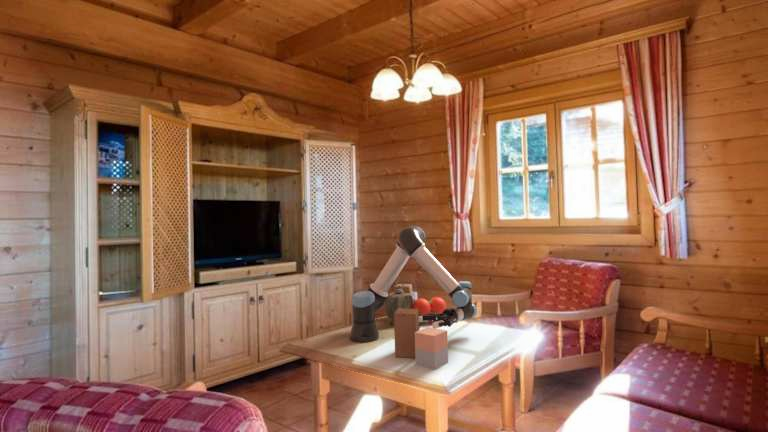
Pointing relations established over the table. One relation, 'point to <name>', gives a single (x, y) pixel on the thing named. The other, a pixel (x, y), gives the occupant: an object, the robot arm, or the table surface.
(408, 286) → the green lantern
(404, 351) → the wooden block
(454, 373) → the table surface
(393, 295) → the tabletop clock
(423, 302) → the molecule
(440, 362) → the tower base
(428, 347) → the tower top
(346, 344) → the table surface
